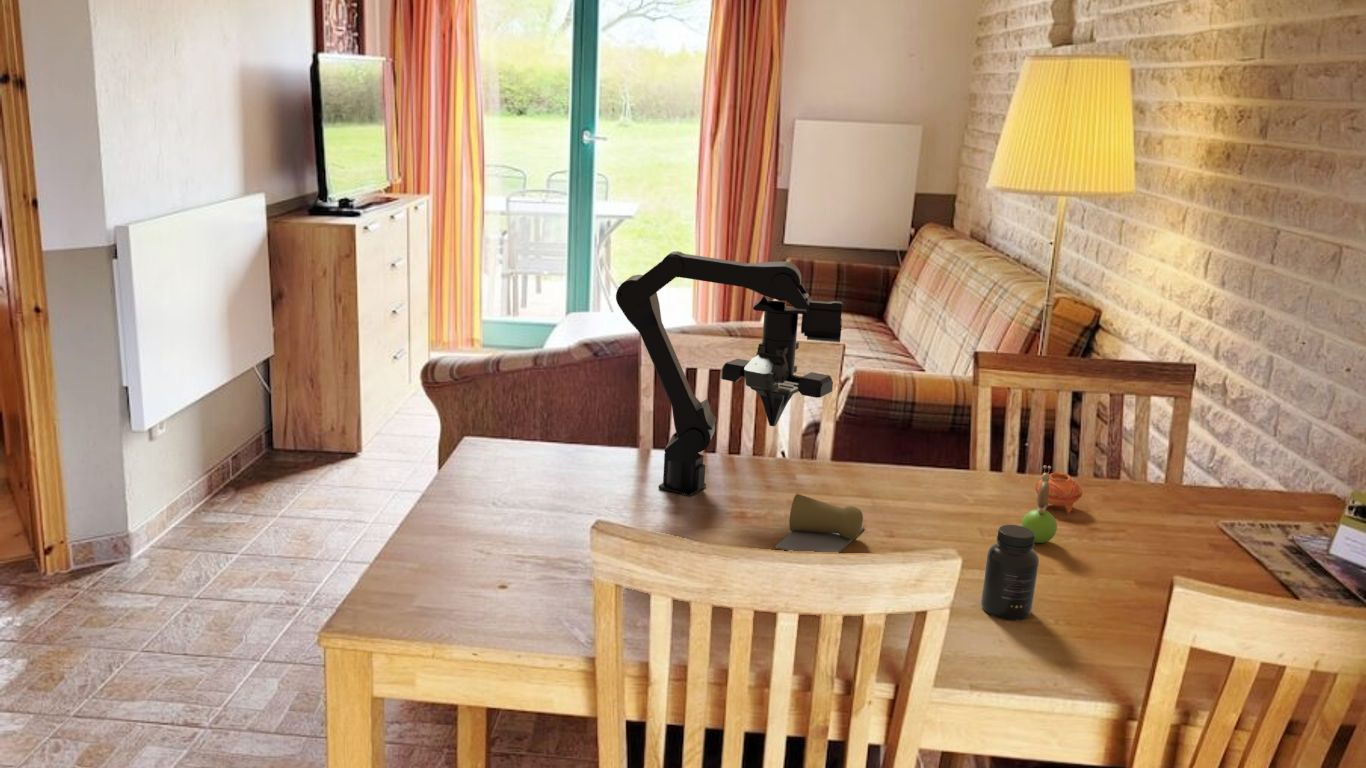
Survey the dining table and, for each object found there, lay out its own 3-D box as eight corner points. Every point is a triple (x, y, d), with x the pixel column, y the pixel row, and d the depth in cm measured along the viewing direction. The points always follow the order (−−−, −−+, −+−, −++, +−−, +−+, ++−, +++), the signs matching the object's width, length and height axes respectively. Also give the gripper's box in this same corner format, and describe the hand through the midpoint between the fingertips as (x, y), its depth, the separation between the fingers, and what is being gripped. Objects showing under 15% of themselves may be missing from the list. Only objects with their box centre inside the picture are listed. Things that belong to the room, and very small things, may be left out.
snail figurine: (1054, 536, 177) (1064, 467, 174) (1054, 550, 171) (1064, 479, 168) (1020, 530, 179) (1030, 462, 176) (1019, 544, 173) (1028, 474, 170)
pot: (1092, 510, 189) (1092, 476, 186) (1058, 525, 186) (1058, 491, 183) (1058, 493, 196) (1058, 460, 193) (1026, 507, 193) (1025, 474, 190)
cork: (788, 537, 171) (856, 550, 168) (790, 504, 169) (859, 516, 166) (797, 519, 177) (863, 532, 173) (799, 487, 174) (866, 499, 171)
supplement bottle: (973, 598, 153) (983, 520, 149) (1019, 599, 153) (1031, 521, 150) (990, 621, 146) (1002, 540, 143) (1038, 622, 147) (1051, 541, 143)
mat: (775, 548, 166) (775, 545, 166) (813, 516, 180) (813, 514, 180) (829, 562, 162) (830, 559, 162) (864, 528, 176) (864, 526, 176)
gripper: (708, 336, 178) (702, 426, 182) (810, 354, 169) (802, 448, 173) (739, 326, 188) (733, 411, 192) (837, 343, 179) (829, 432, 183)
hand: (772, 425), depth 185 cm, fingers closed
